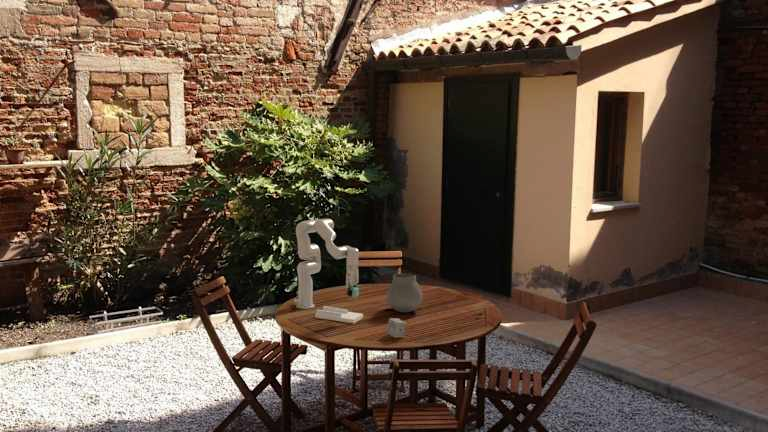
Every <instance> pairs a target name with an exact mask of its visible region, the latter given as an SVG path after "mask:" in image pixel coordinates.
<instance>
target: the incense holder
mask: <svg viewBox="0 0 768 432" xmlns="http://www.w3.org/2000/svg"><path fill="white" fill-rule="evenodd" d="M407 325H408V324H407V322H406V321H403V320H402V319H400V318H392V317H389V319H388V323H387V330H386V334H387V335H389V336H390V338H395V339H397V338H400V339H405V338H406V335H405V328H406V327H407Z"/></svg>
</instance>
